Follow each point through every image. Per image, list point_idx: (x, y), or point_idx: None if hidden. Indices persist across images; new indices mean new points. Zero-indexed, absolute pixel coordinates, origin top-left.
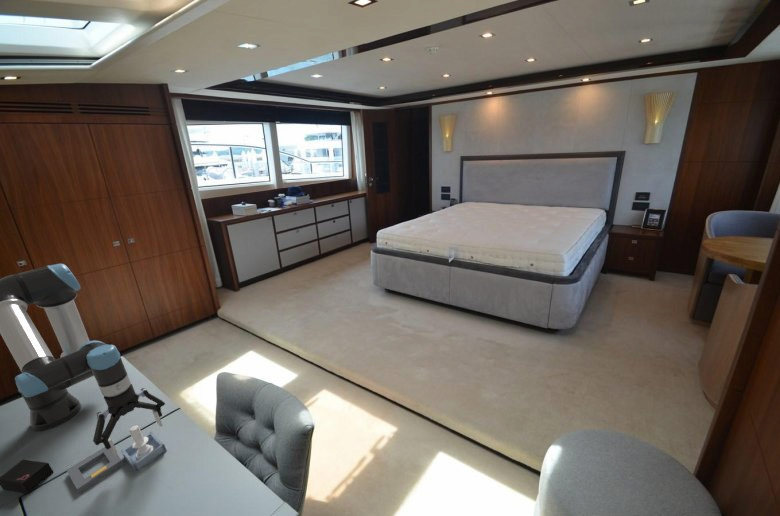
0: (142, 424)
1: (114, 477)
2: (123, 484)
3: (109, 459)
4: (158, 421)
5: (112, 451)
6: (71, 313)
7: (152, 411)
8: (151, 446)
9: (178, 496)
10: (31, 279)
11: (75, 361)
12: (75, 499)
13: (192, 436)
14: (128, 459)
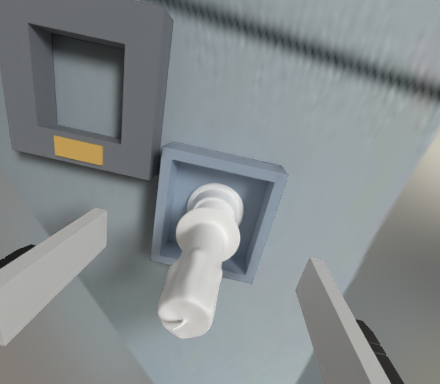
0: (332, 9)
1: (119, 196)
2: (124, 245)
3: (124, 125)
4: (307, 327)
5: (91, 212)
6: None
7: (359, 367)
8: (239, 215)
9: (174, 375)
10: None
11: None
12: (22, 156)
13: None
14: (155, 222)
